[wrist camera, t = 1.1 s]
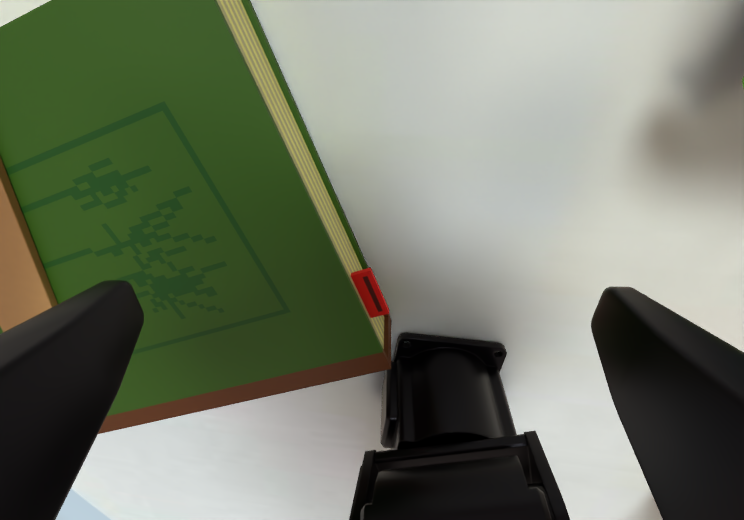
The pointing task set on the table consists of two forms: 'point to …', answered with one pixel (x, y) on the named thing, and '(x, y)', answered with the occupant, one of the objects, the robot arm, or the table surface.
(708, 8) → the table surface
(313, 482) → the table surface
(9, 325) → the ruler
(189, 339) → the hardcover book
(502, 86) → the table surface
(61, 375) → the robot arm
